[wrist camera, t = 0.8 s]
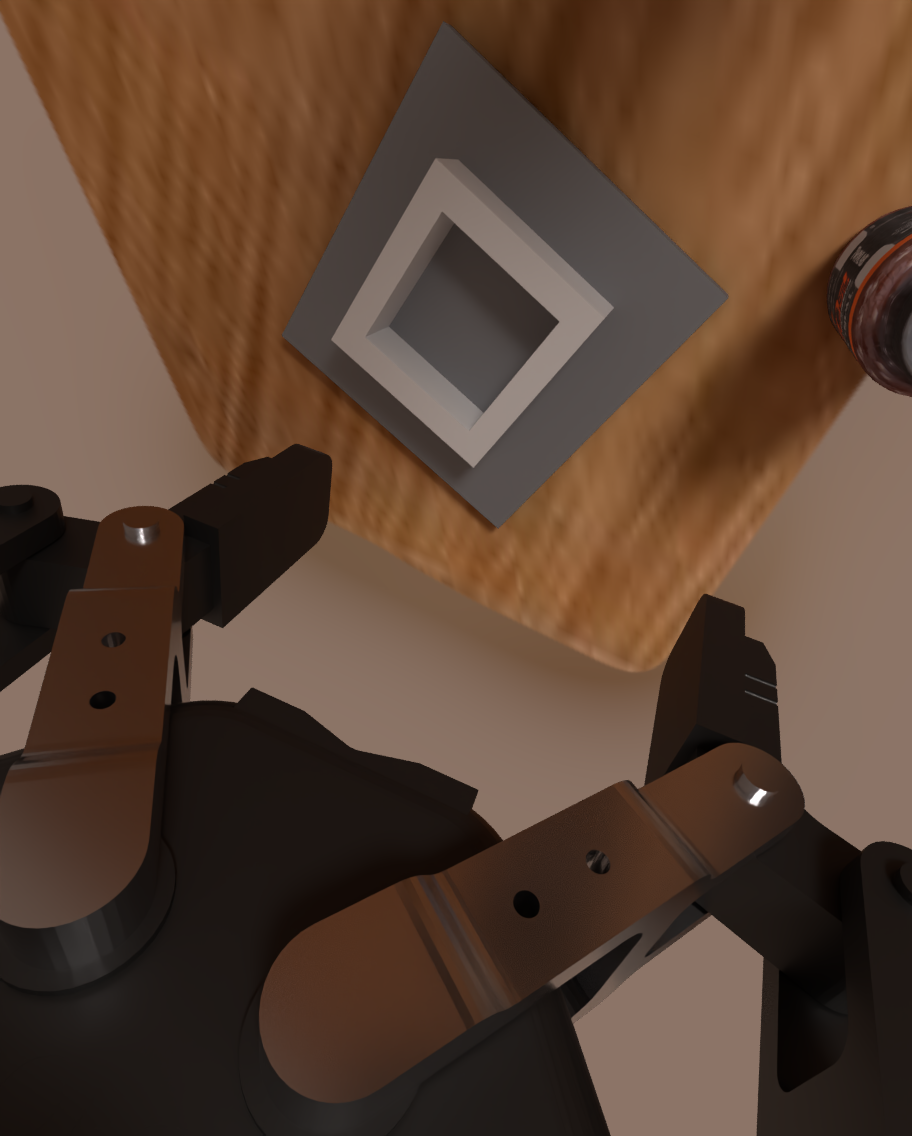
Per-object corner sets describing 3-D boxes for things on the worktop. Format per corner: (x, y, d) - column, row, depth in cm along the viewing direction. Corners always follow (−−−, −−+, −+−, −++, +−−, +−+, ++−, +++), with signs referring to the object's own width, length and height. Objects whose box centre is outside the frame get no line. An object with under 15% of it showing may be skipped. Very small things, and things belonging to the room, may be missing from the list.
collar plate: (451, 25, 30) (417, 7, 26) (728, 294, 31) (728, 308, 28) (290, 332, 40) (252, 345, 37) (502, 521, 42) (483, 550, 39)
